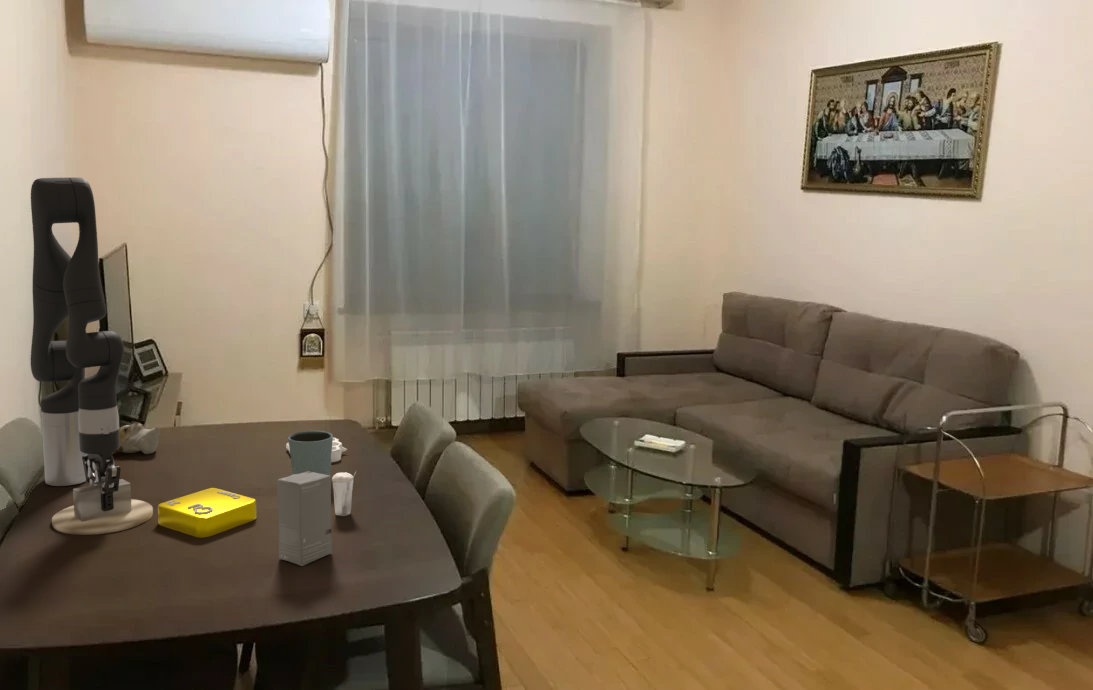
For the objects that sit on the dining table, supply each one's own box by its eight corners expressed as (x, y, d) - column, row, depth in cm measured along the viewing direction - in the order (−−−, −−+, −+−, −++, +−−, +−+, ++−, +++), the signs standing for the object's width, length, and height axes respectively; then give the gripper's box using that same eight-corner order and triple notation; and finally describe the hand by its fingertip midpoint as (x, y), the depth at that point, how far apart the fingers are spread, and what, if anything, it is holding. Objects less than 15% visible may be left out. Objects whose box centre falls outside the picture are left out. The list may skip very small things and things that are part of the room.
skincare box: (301, 567, 167) (300, 485, 165) (275, 558, 171) (273, 478, 168) (334, 553, 174) (334, 474, 172) (308, 545, 178) (307, 467, 176)
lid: (37, 517, 188) (35, 485, 187) (129, 497, 202) (128, 467, 201) (73, 542, 176) (71, 507, 175) (168, 519, 190) (167, 487, 188)
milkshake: (351, 518, 193) (351, 473, 192) (328, 516, 194) (328, 471, 193) (360, 511, 198) (360, 467, 196) (337, 509, 199) (337, 465, 197)
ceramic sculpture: (147, 425, 229) (91, 426, 231) (150, 459, 230) (94, 458, 232) (168, 416, 239) (115, 416, 241) (171, 448, 241) (118, 448, 242)
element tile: (261, 519, 192) (260, 497, 191) (202, 540, 179) (201, 517, 179) (213, 505, 200) (212, 484, 199) (153, 524, 187) (153, 502, 186)
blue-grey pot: (341, 485, 215) (341, 436, 213) (304, 494, 208) (303, 443, 206) (317, 475, 222) (317, 428, 220) (280, 483, 215) (279, 435, 213)
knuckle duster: (283, 448, 245) (337, 444, 252) (296, 467, 229) (353, 461, 236) (283, 436, 245) (337, 432, 251) (296, 454, 229) (353, 449, 235)
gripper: (66, 424, 188) (70, 503, 190) (94, 437, 178) (98, 520, 181) (103, 418, 193) (107, 495, 196) (132, 431, 184) (136, 511, 187)
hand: (103, 507), depth 188 cm, fingers closed on lid, 4 cm apart
